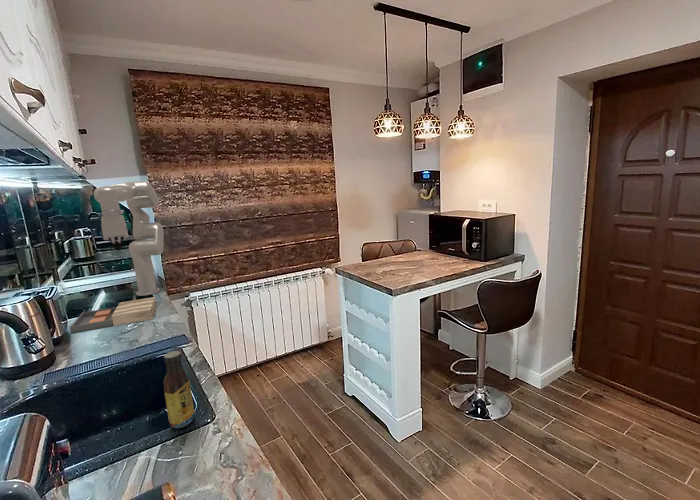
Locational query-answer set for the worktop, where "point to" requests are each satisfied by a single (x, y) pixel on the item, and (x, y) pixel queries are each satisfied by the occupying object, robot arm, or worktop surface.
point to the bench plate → (134, 311)
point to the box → (85, 318)
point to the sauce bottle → (177, 390)
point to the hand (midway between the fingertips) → (118, 250)
